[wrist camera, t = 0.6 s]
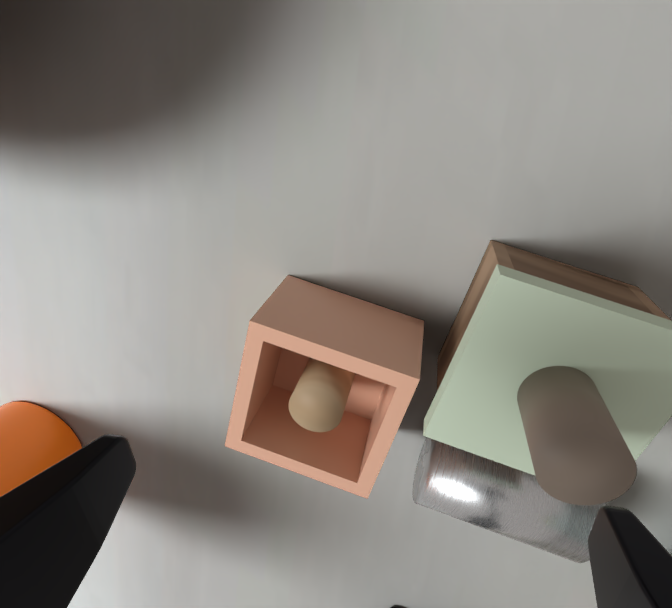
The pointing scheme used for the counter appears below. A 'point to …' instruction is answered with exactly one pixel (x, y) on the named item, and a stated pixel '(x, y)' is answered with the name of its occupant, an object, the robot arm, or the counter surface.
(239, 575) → the counter surface
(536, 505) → the lying can
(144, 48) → the counter surface
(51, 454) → the shaker bottle
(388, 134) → the counter surface
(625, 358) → the lid
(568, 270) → the walnut box
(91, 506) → the robot arm
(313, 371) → the wooden peg
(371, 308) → the terracotta box
